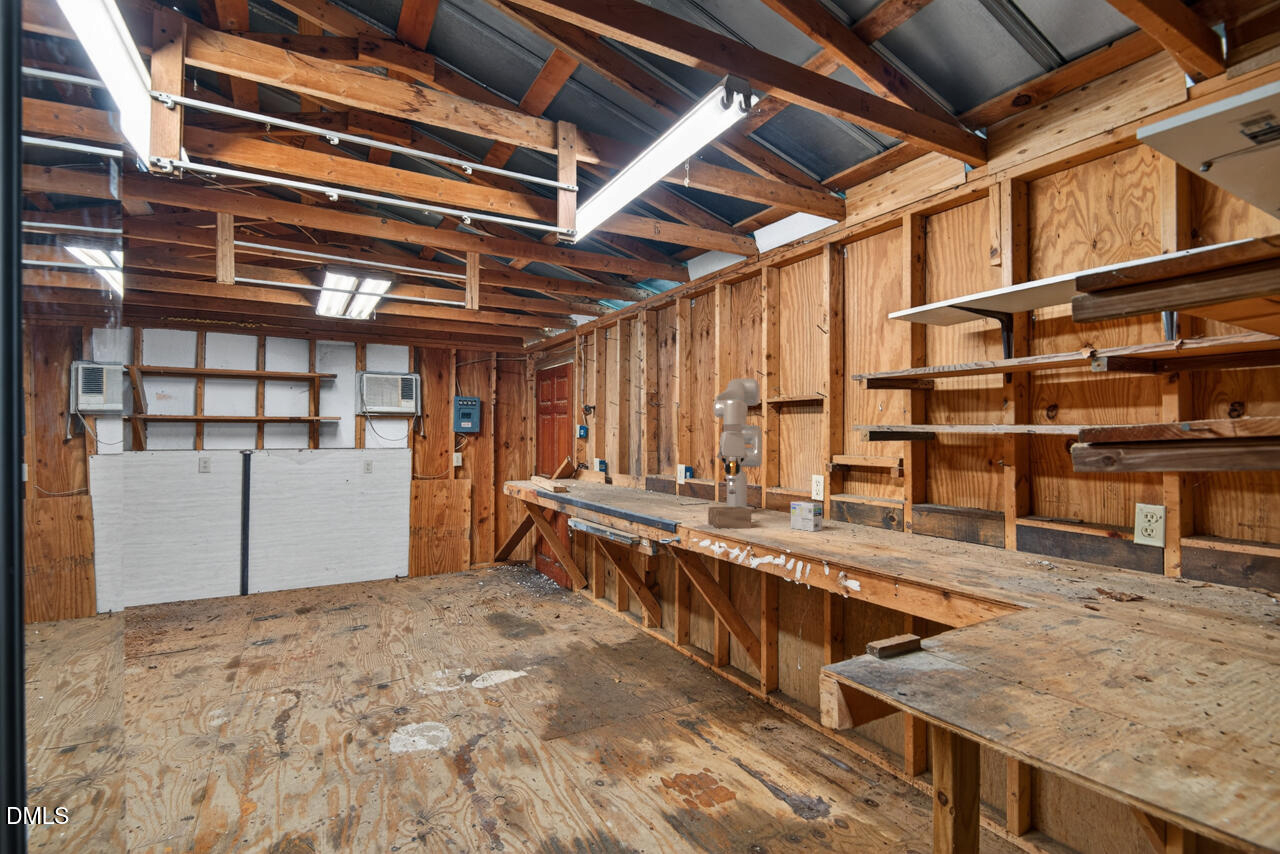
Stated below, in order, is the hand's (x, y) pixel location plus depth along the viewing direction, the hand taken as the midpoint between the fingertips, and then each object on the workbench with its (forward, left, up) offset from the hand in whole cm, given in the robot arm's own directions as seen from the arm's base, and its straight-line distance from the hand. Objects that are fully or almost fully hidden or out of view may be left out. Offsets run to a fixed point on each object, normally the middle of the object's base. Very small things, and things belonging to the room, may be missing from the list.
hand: (732, 473), depth 245 cm
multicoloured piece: (0, 0, -8) cm, 8 cm away
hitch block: (0, -1, -21) cm, 21 cm away
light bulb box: (+12, +27, -22) cm, 37 cm away
